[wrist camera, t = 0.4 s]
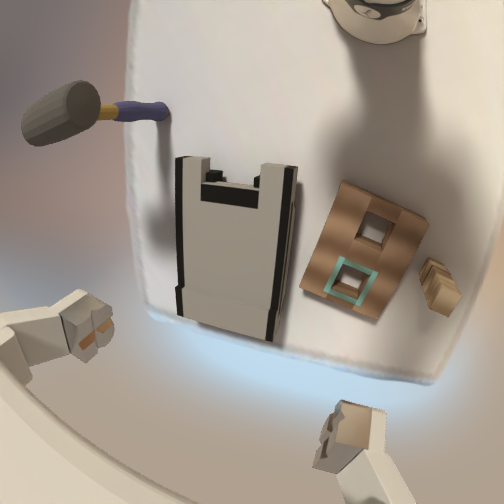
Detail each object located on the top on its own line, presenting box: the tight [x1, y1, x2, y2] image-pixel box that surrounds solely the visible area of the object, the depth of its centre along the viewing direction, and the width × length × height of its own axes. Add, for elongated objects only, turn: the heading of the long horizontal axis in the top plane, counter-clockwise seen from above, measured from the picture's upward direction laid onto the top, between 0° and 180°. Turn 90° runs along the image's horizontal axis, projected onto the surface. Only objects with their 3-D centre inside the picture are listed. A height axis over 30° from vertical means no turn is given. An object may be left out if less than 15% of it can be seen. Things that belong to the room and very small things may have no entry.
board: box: [299, 180, 429, 320], centre depth 50 cm, size 20×16×4 cm
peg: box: [419, 258, 462, 317], centre depth 43 cm, size 4×4×12 cm
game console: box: [175, 156, 298, 342], centre depth 56 cm, size 21×32×8 cm, turn 177°
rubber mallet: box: [21, 80, 169, 146], centre depth 41 cm, size 12×8×30 cm, turn 95°
